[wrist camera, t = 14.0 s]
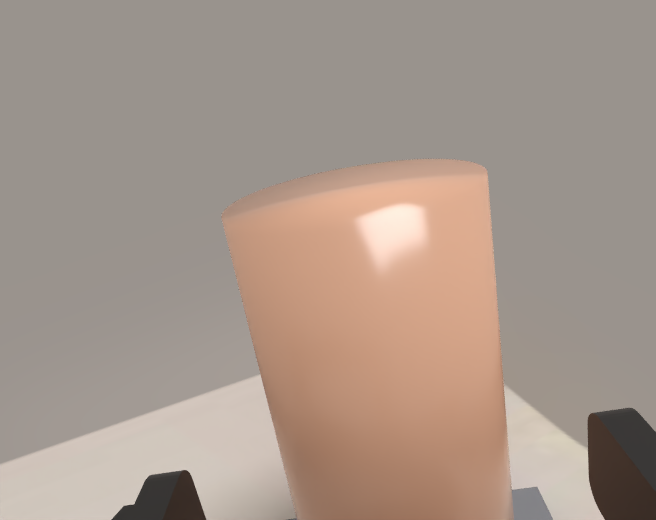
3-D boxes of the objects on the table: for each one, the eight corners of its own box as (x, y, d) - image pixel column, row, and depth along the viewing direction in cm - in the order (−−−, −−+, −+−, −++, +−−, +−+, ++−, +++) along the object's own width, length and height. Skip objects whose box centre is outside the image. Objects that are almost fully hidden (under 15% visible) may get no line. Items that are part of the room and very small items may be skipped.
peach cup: (556, 748, 15) (526, 195, 10) (331, 764, 15) (188, 250, 10) (478, 500, 23) (440, 138, 18) (336, 516, 24) (260, 169, 19)
